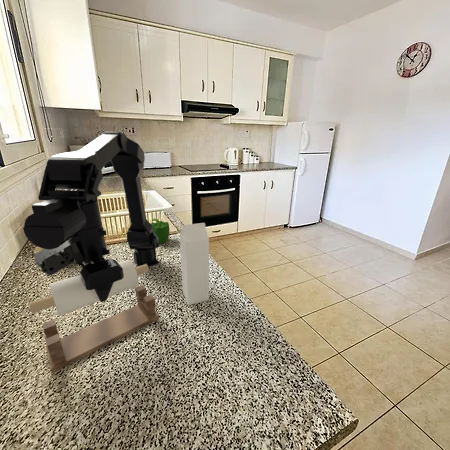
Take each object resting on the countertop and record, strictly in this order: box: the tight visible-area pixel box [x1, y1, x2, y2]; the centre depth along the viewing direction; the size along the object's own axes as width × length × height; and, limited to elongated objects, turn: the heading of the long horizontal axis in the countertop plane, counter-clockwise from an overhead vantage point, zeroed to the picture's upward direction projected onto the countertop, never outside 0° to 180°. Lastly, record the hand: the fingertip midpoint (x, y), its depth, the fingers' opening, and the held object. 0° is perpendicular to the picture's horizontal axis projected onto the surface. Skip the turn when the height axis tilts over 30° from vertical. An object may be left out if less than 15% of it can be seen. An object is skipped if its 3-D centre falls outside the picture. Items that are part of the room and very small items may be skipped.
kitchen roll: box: [28, 259, 150, 317], centre depth 50 cm, size 22×6×6 cm, turn 131°
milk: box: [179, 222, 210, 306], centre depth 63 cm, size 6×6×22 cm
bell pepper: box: [150, 217, 171, 244], centre depth 98 cm, size 8×8×10 cm
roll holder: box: [41, 284, 160, 374], centre depth 53 cm, size 22×7×6 cm, turn 131°
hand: (98, 293), depth 51 cm, fingers closed on kitchen roll, 6 cm apart
